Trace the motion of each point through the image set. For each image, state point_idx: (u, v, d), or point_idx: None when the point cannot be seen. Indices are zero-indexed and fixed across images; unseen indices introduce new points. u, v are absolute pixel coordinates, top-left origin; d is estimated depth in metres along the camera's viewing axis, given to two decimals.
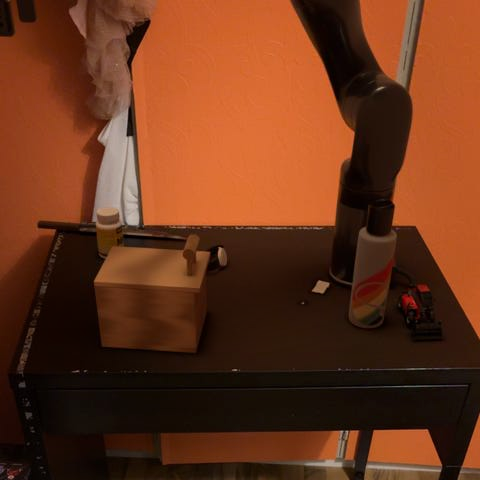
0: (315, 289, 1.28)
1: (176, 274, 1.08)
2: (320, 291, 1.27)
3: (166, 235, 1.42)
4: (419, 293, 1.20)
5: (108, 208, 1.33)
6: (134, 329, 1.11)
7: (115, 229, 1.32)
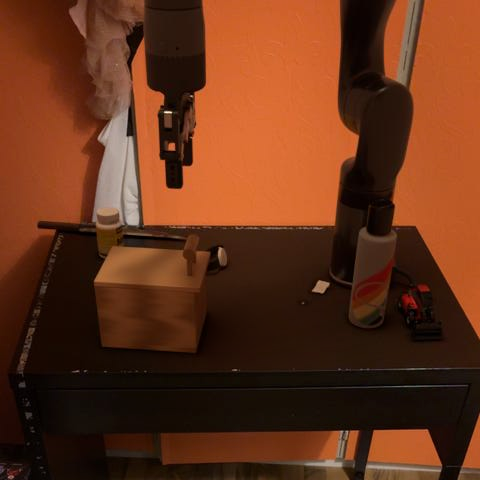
0: (316, 289, 1.28)
1: (176, 274, 1.08)
2: (320, 291, 1.27)
3: (166, 235, 1.42)
4: (419, 293, 1.20)
5: (108, 208, 1.33)
6: (134, 329, 1.11)
7: (115, 229, 1.32)
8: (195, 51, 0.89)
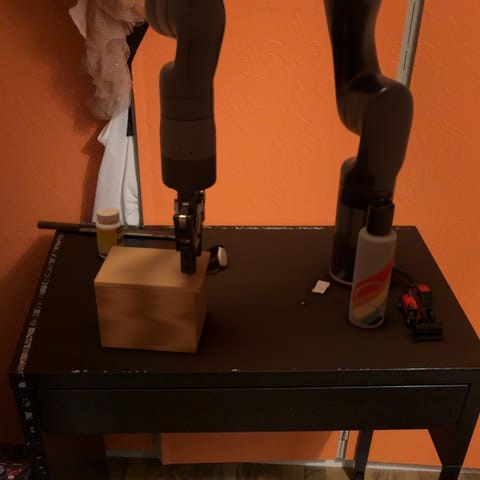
0: (316, 289, 1.28)
1: (176, 274, 1.08)
2: (320, 291, 1.27)
3: (166, 235, 1.42)
4: (419, 293, 1.20)
5: (108, 208, 1.33)
6: (134, 329, 1.11)
7: (115, 229, 1.32)
8: (207, 154, 0.97)
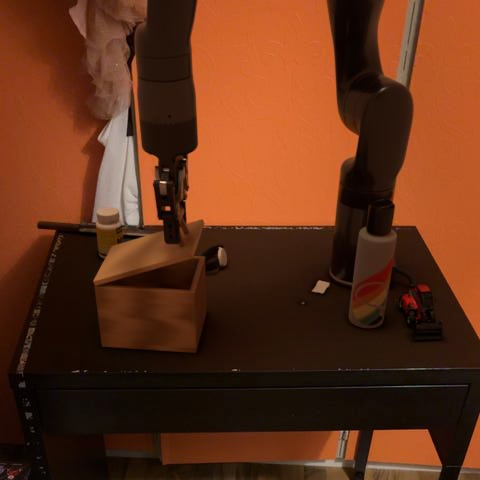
0: (316, 289, 1.28)
1: (169, 249, 1.06)
2: (320, 291, 1.27)
3: None
4: (420, 293, 1.20)
5: (108, 208, 1.33)
6: (134, 329, 1.11)
7: (115, 229, 1.32)
8: (187, 117, 0.94)
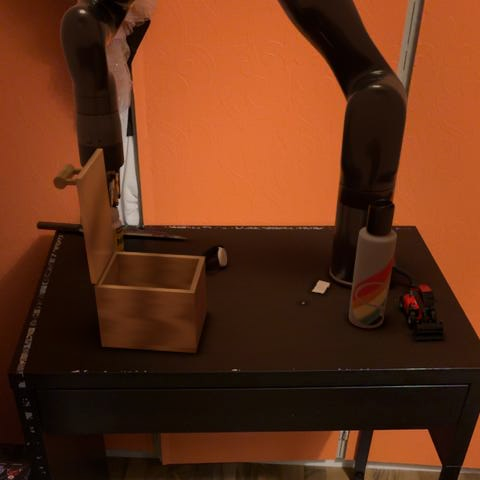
0: (316, 289, 1.28)
1: None
2: (320, 291, 1.27)
3: (166, 235, 1.42)
4: (421, 293, 1.20)
5: None
6: (134, 329, 1.11)
7: (115, 229, 1.32)
8: (113, 142, 1.22)
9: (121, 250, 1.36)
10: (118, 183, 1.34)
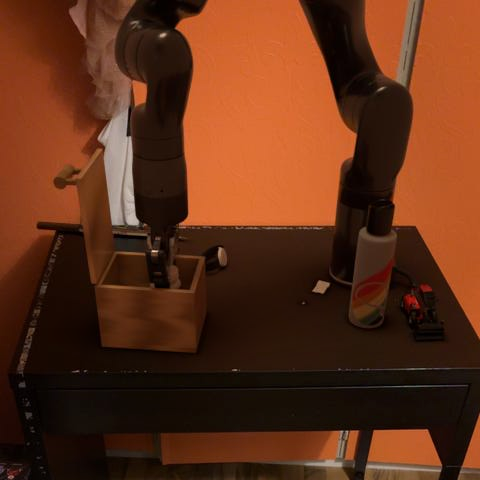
0: (316, 289, 1.28)
1: None
2: (320, 291, 1.27)
3: None
4: (422, 293, 1.20)
5: None
6: (134, 329, 1.11)
7: None
8: (178, 192, 1.00)
9: None
10: None
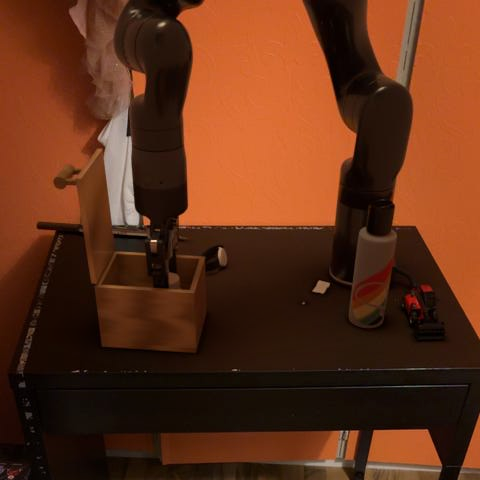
0: (316, 289, 1.28)
1: None
2: (320, 291, 1.27)
3: None
4: (422, 293, 1.20)
5: None
6: (134, 329, 1.11)
7: None
8: (177, 183, 1.00)
9: None
10: None
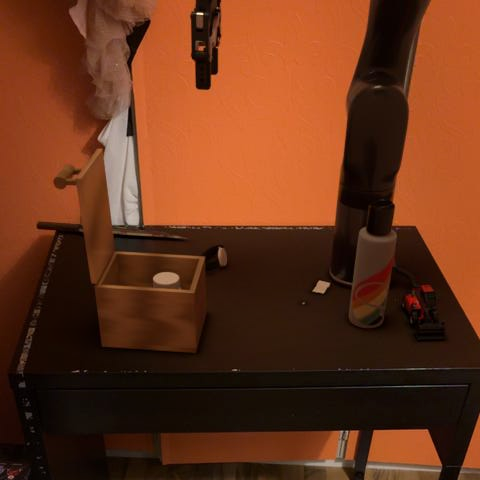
0: (316, 289, 1.28)
1: None
2: (321, 291, 1.27)
3: (166, 235, 1.42)
4: (423, 293, 1.20)
5: (166, 274, 1.12)
6: (134, 329, 1.11)
7: None
8: None
9: None
10: None
